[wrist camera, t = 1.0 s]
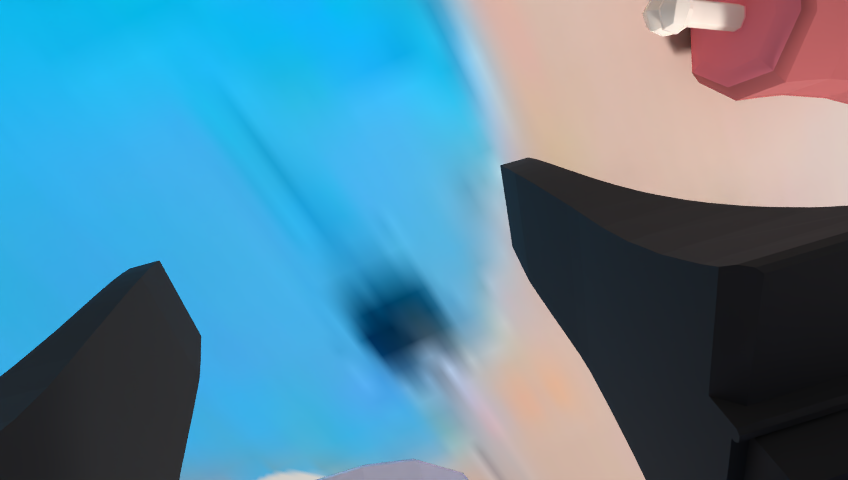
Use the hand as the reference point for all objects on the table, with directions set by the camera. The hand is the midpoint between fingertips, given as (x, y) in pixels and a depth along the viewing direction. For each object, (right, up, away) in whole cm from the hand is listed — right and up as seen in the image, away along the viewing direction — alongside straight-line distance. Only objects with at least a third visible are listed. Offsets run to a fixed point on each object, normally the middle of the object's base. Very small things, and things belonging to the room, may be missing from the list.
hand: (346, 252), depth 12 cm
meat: (+15, +6, +4) cm, 17 cm away
